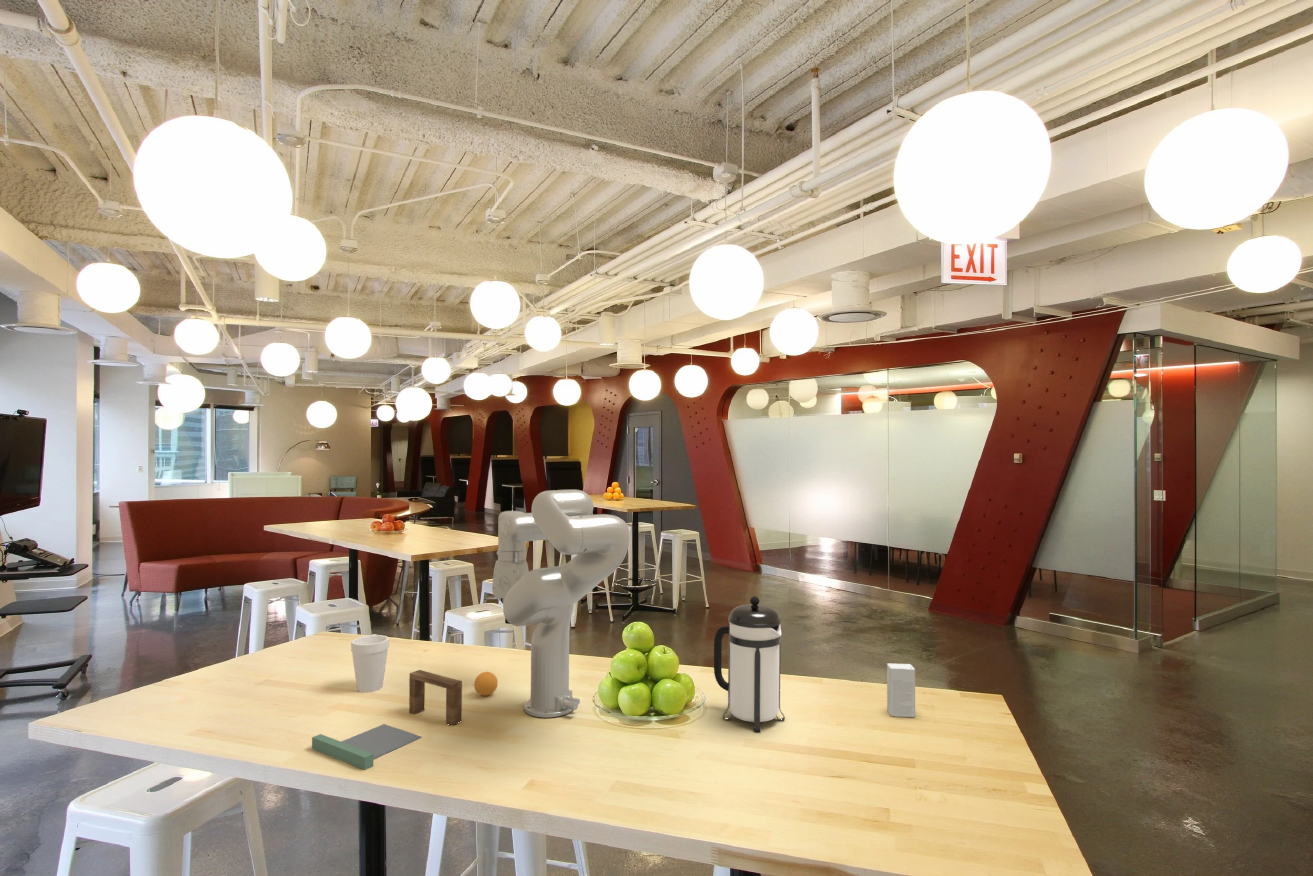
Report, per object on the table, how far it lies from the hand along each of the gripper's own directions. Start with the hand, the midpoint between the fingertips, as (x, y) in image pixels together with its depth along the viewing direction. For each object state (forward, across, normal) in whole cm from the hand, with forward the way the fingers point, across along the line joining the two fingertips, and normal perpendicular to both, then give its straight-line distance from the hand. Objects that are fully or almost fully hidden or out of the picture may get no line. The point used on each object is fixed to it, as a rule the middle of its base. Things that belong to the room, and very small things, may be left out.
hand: (511, 622), depth 191 cm
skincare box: (+17, +96, +36) cm, 104 cm away
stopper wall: (+17, 0, -52) cm, 54 cm away
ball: (+14, 0, -10) cm, 17 cm away
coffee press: (+17, +65, +14) cm, 69 cm away
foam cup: (+17, -30, -22) cm, 41 cm away
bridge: (+17, 0, -26) cm, 31 cm away
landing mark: (+17, 0, -42) cm, 46 cm away
